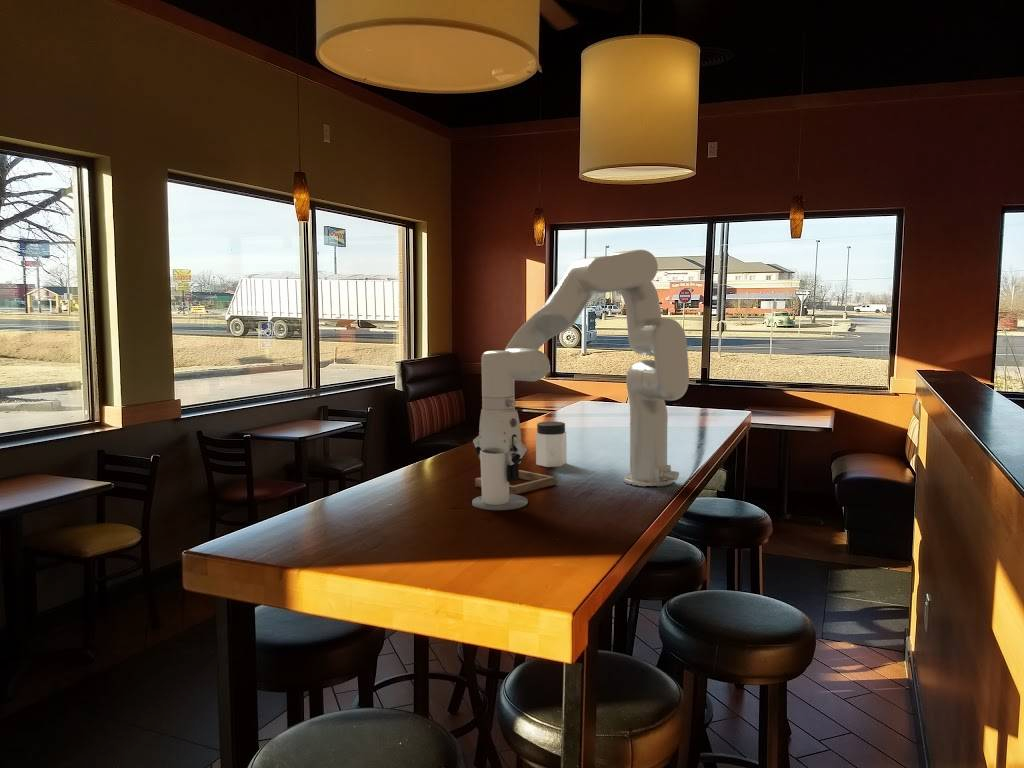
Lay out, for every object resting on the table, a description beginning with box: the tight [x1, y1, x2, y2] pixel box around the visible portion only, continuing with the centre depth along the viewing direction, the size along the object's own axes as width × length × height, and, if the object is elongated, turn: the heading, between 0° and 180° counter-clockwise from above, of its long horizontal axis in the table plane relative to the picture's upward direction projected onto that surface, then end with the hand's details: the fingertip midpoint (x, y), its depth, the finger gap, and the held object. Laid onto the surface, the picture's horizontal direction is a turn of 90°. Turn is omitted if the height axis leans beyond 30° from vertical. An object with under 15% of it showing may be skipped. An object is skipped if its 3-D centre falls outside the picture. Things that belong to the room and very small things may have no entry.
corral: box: [474, 469, 556, 495], centre depth 197 cm, size 14×15×2 cm
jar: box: [535, 420, 568, 468], centre depth 222 cm, size 9×8×12 cm
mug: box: [479, 450, 510, 505], centre depth 179 cm, size 10×7×12 cm, turn 150°
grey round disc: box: [471, 494, 529, 511], centre depth 179 cm, size 13×13×1 cm
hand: (499, 477), depth 179 cm, fingers open, 8 cm apart
